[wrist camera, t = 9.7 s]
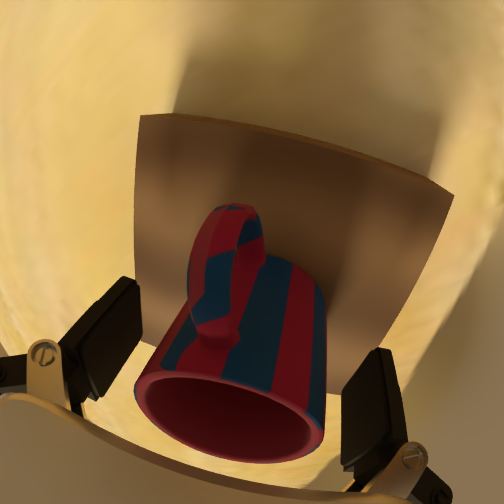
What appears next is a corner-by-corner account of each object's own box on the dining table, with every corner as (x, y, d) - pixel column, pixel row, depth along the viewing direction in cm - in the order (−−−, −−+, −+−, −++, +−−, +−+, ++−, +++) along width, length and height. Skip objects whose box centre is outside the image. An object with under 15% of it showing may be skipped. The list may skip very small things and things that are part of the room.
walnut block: (178, 113, 14) (140, 115, 10) (422, 175, 13) (454, 195, 9) (164, 306, 21) (141, 341, 17) (340, 353, 20) (342, 395, 16)
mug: (198, 342, 16) (152, 437, 10) (195, 170, 11) (84, 235, 5) (310, 364, 15) (298, 472, 9) (358, 193, 10) (409, 292, 4)
